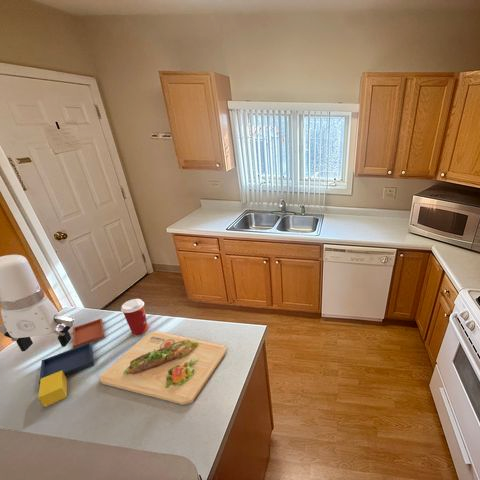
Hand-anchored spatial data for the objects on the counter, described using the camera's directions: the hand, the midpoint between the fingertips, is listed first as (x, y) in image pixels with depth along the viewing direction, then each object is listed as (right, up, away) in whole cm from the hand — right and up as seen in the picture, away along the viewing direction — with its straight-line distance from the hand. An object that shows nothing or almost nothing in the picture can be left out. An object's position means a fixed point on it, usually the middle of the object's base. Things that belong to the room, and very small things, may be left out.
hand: (47, 345), depth 76 cm
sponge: (-3, -17, +5) cm, 18 cm away
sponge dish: (-13, -7, +28) cm, 31 cm away
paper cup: (+6, -7, +31) cm, 32 cm away
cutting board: (+26, -14, +17) cm, 34 cm away
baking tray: (-8, -13, +14) cm, 21 cm away
